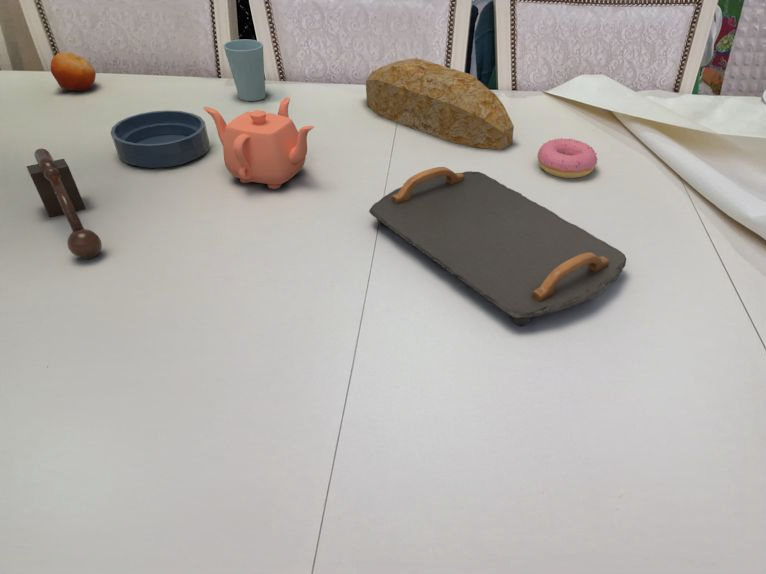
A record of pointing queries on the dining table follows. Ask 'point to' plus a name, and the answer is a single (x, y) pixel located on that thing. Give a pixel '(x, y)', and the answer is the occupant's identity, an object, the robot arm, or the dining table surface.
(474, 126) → the bread
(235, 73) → the cup
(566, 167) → the doughnut
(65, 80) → the fruit
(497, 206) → the serving tray
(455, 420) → the dining table surface
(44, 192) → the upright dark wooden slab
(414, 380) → the dining table surface
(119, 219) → the dining table surface
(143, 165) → the bowl
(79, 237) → the brown ball-ended stick
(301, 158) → the teapot
